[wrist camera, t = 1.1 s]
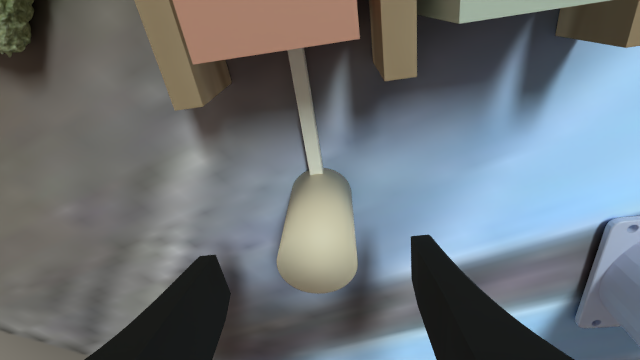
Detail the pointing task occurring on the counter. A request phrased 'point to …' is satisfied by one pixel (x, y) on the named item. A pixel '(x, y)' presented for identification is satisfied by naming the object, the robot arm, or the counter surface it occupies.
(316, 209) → the beige handled piece
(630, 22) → the oak lane rack
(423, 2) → the sage block
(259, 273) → the counter surface
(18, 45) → the washcloth
